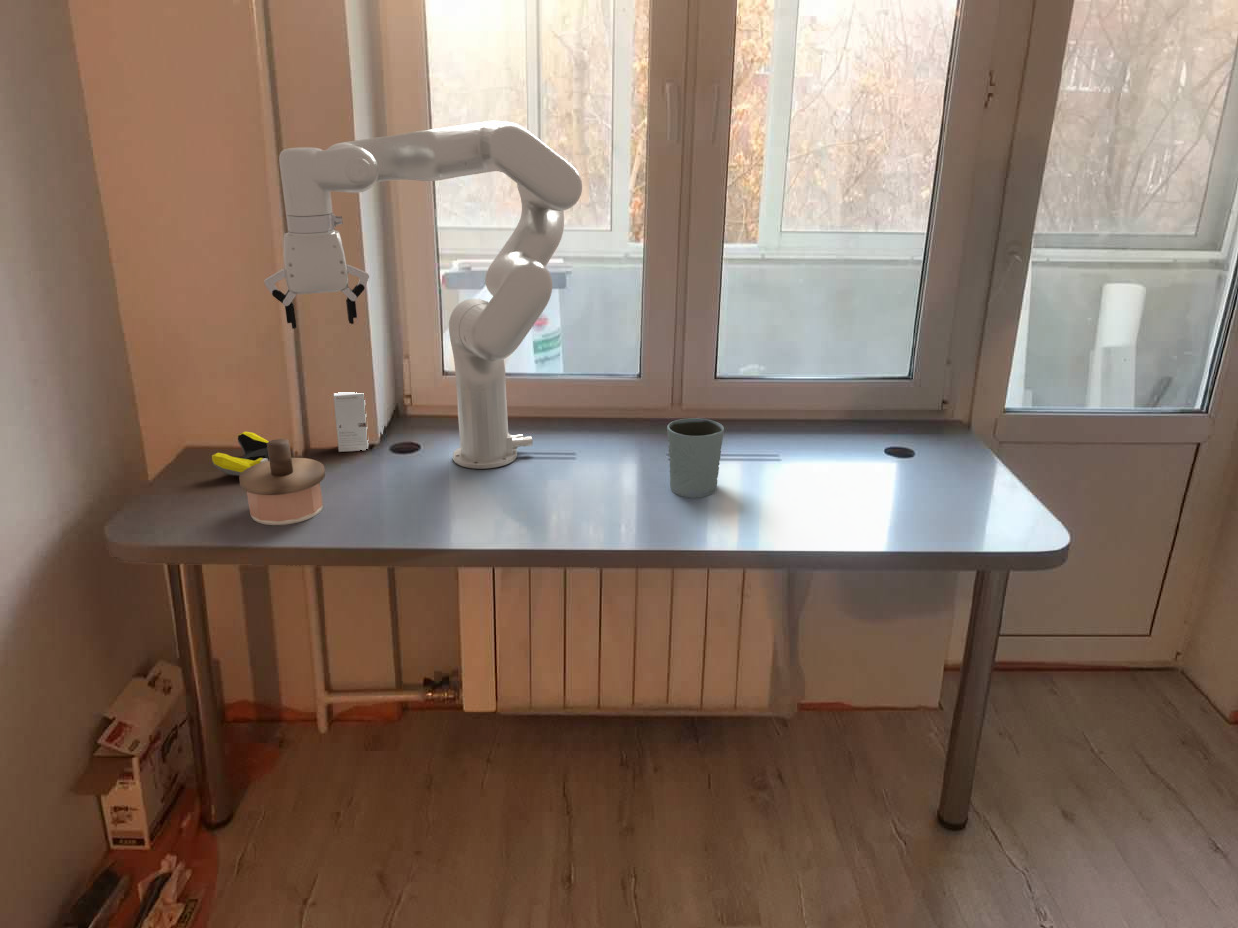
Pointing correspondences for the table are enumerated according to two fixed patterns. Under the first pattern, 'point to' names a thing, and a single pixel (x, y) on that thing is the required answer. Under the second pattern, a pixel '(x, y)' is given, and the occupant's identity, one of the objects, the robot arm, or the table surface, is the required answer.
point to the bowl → (286, 506)
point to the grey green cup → (694, 456)
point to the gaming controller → (253, 452)
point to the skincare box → (350, 421)
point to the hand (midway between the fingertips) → (322, 324)
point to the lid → (281, 472)
